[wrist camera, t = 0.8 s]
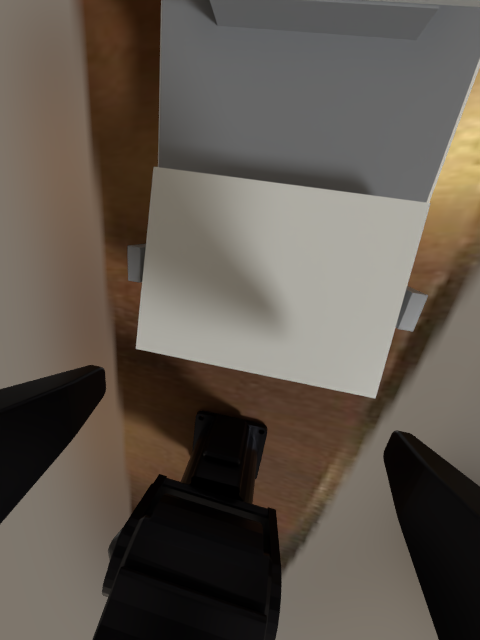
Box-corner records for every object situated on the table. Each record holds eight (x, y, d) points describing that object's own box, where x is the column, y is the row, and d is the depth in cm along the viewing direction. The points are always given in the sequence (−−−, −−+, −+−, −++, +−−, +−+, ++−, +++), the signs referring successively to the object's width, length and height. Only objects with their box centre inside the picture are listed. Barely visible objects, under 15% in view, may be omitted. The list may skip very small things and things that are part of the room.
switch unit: (361, 361, 19) (405, 433, 12) (161, 322, 21) (104, 367, 14) (569, -217, 10) (1201, -1194, 3) (177, -208, 11) (25, -846, 5)
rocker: (362, 383, 12) (375, 398, 11) (151, 340, 13) (135, 348, 12) (407, 214, 11) (430, 202, 9) (169, 181, 12) (153, 166, 10)
